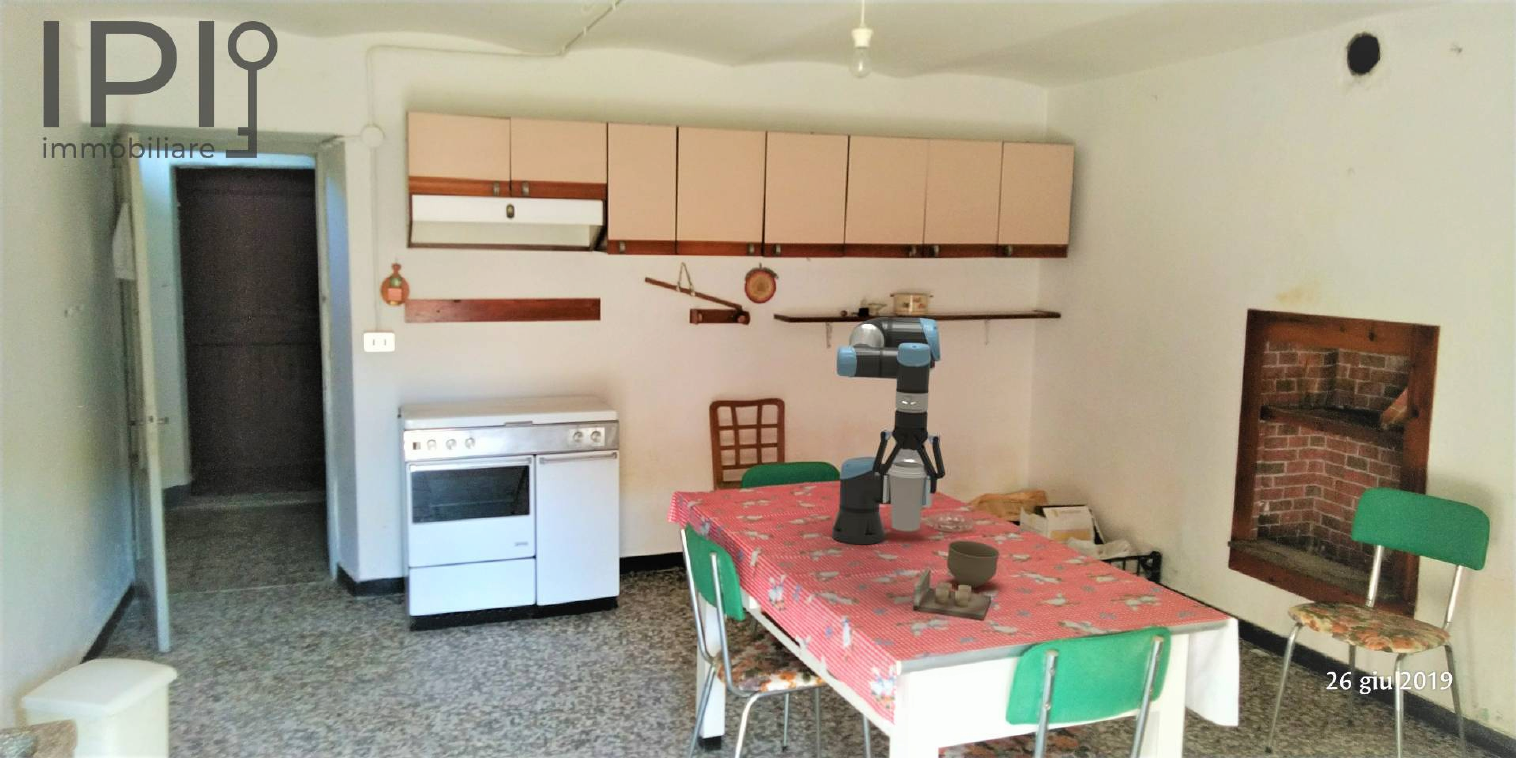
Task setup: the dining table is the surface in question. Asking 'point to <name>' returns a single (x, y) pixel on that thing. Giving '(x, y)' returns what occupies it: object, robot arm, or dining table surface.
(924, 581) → the peg stand
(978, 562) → the bowl
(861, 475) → the robot arm
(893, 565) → the dining table surface
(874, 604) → the dining table surface
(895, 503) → the coffee cup
